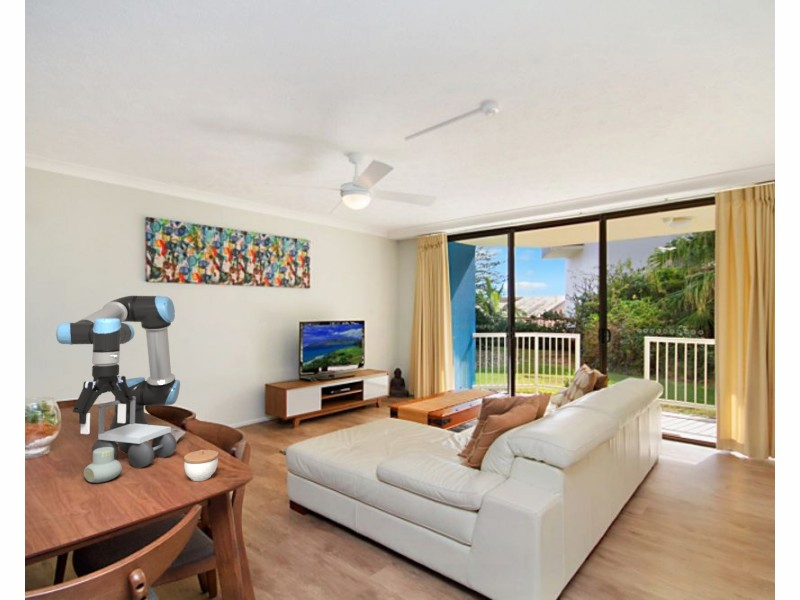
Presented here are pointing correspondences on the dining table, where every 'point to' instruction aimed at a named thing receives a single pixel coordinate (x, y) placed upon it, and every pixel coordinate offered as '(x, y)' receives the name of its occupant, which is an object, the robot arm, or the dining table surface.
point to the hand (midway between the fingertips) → (104, 428)
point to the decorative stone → (176, 433)
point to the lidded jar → (200, 464)
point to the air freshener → (102, 466)
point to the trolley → (135, 438)
